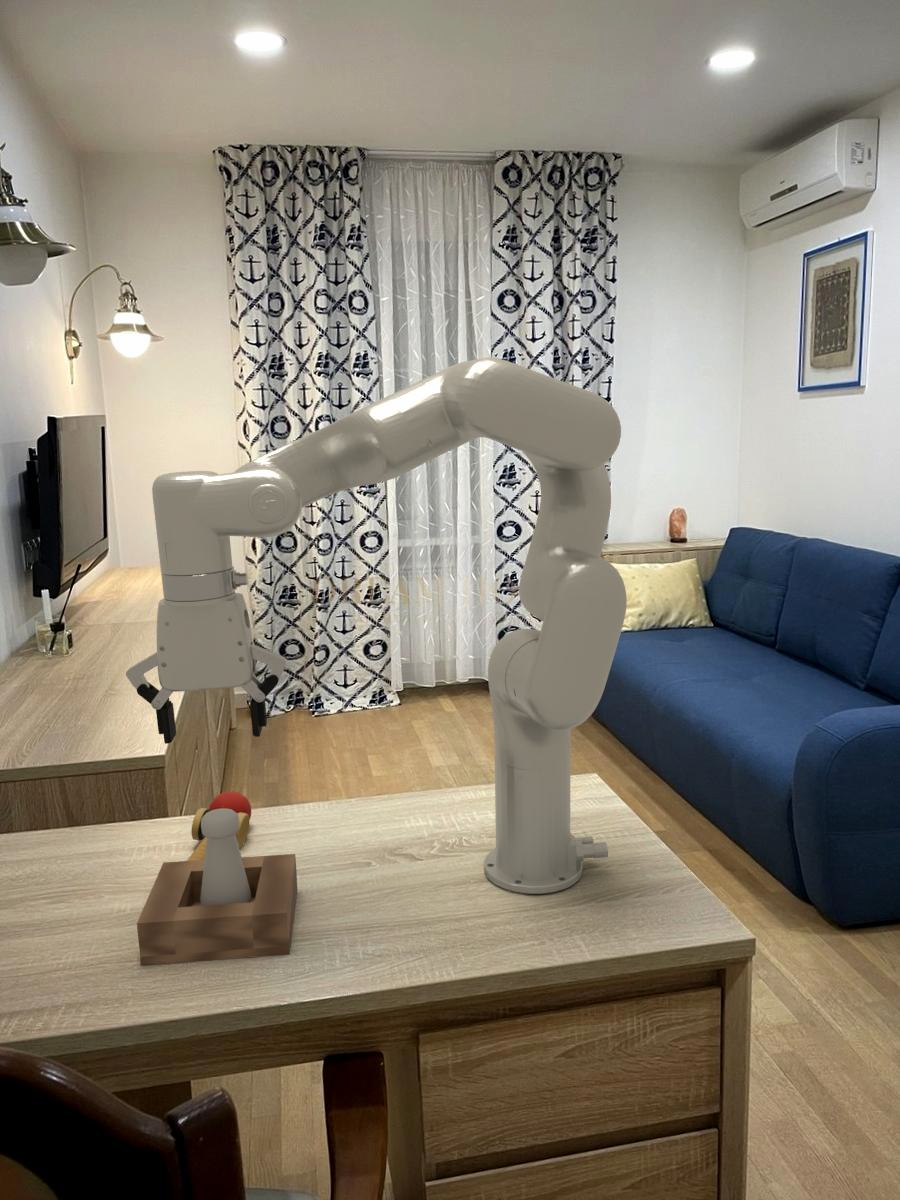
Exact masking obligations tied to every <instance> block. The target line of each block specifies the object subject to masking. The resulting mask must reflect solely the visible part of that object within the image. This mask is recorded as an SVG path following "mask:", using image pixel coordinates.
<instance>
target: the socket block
mask: <svg viewBox="0 0 900 1200" xmlns="http://www.w3.org/2000/svg"><path fill="white" fill-rule="evenodd" d="M241 857H242V856H241ZM204 861H205V860H194V861H187V860H181V861H179V860H178V861H167V862H165V861H164V862H162V864H161V867H160V868H159V871H158V874H157V876H156V879H155V881H154V883H153V885H152V887H151V890H150V891H149V895H148V897H147V899H146V902H145V903H144V905H143V906H144V907H143V908H142V911H141V912H140V915H139V918H138V919H137V922H136V927H137V928H136V929H137V939H138V949H139V950H138V951H139V958H140V966H149V965H150V966H151V965H161V964H176V963H177V964H178V963H189V962H190V963H191V962H202V961H203V962H204V961H216V960H217V961H218V960H228V959H229V960H231V959H241V958H256V957H269V956H272V957H273V956H281V955H282V956H283V955H284V956H285V955H290V954H291V953H290V952H291V946H292V945H291V944H292V936H293V930H294V929H293V928H294V920H295V914H296V908H297V905H296V904H297V898H298V892H297V891H298V877H297V875H298V873H297V859H296V853H289V854H273V855H258V856H255V855H254V856H244V857H242V861H243V865H244V869H245V872H246V876H247V880H248V884H249V887H250V891H251V902H249V903H235V904H221V905H206V906H201V903H200V897H201V888H202V879H203V870H204Z"/></svg>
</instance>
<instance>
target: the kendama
mask: <svg viewBox="0 0 900 1200" xmlns="http://www.w3.org/2000/svg"><path fill="white" fill-rule="evenodd" d="M224 808H226V809H231V810H233V811H235V812H236V813H237V814H238V817H239V830H238V831H237V833H236V838H237V842H238V846H239V849H241V848H242V847H243V846H242V844H243V843H244V844H245V842H246V841H247V837H248V835H249V829H250V821H251V816H252V806H251V803H250V801H249V800H248V798H247V797H246V796H245V795H244V794H242V793H240V792H237V791H232V790H231V791H224V792H221V793H220V794H218V795H216V797H215V798H214V799H212V801H211V803H210V804H209V808H207V807H200V808H199V809H197V811H196V813H195V815H194V817H193V820H192V823H191V824H192V825H191V833H190V834H191V837H192V838H191V839H193V840H195V841H199V842H200V843H199V844H198V846H197V847H195V849H194V851H193V852H192V853H191V855H190V856H189V857H188V859H187V860H186V861H194V860H205V852H206V842H207V837H205V836H204V835H203V834H202V830H201V819H202V817H203V816H204V815H205V814H206V813H207V812H209V811H212V810H215V809H224ZM241 846H242V847H241ZM240 847H241V848H240Z"/></svg>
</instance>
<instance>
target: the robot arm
mask: <svg viewBox="0 0 900 1200" xmlns="http://www.w3.org/2000/svg"><path fill="white" fill-rule="evenodd" d="M478 438H484V439H485V438H486V439H489V440H492V441H495V442H497V443H499V444H502V445H505V446H507V447H511V448H514V449H516V450H518V451H522V453H523V455H525V456H526V458H527V459H528V460H529V461H530V463H531V464H532V466H533V468H534V470H535V471H536V474H537V477H538V481H539V486H540V501H539V502H540V503H539V509H538V513H537V518H536V522H535V526H534V530H533V533H532V535H531V536H532V537H531V539H530V543H529V548H528V551H527V555H526V557H525V558H526V559H525V562H524V564H523V568H522V572H521V574H520V575H521V576H520V580H519V584H518V585H519V586H518V595H519V600H520V602H521V604H522V606H523V607H524V608H525V610H526V611H527V612H528V613H530V615H532V616H533V617H535V618H536V619H538V620H540V621H542V624H541V629H540V630H539V629H534V628H520V629H519V628H518V629H516V630H513V631H511V632H509V633H507V634H505V635H504V636H502V638H500V639H499V641H498V642H497V643H496V644H495V646H494V647H493V649H492V652H491V654H490V657H489V660H488V666H487V680H488V681H487V682H488V689H489V698H490V703H491V709H492V720H493V731H494V733H493V734H494V735H493V737H494V738H493V739H494V794H495V796H494V802H495V807H494V808H495V848H494V849H493V850H491V851H490V852H489V853H488V854H487V855H485V858H484V861H483V863H484V864H483V865H484V867H483V870H484V874H485V876H486V877H487V879H489V881H490V882H491V883H493V884H495V885H496V886H497V887H500V888H502V889H504V890H507V891H511V892H516V893H520V894H530V895H534V894H536V895H541V894H549V893H552V894H553V893H556V892H560V891H562V890H565V889H568V888H569V887H571V886H574V885H575V884H576V883H578V882H579V880H580V879H581V877H582V876H583V862H584V860H585V859H603V858H608V856H609V855H608V854H609V849H608V844H607V842H606V841H600V842H599V841H598V842H594V839H593V836H582V837H575V835H572V832H571V757H572V750H571V749H572V748H571V747H572V744H571V742H572V741H571V740H572V739H571V729H574V728H577V727H578V726H580V725H582V724H583V723H584V722H586V721H587V720H588V719H589V717H591V716H592V714H593V713H594V712H595V710H596V709H597V707H598V705H599V703H600V700H601V698H602V696H603V693H604V692H605V691H604V690H605V687H606V684H607V681H608V678H609V675H610V670H611V667H612V665H613V661H614V657H615V655H616V650H617V647H618V643H619V641H620V637H621V633H622V630H623V627H624V622H625V619H626V613H627V589H626V585H625V583H624V579H623V577H622V576H621V574H620V572H619V571H618V569H616V567H615V566H614V565H613V564H611V563H610V562H608V560H606V559H604V558H603V557H602V552H603V551H602V550H603V546H604V543H605V539H606V534H607V529H608V526H609V520H610V516H611V515H610V514H611V507H612V491H611V490H612V488H611V483H610V478H609V475H608V471H607V468H606V465H605V464H606V463H607V462H608V461H610V459H611V458H612V457H613V456H614V454H615V453H616V451H617V449H618V447H619V445H620V442H621V438H622V425H621V420H620V418H619V415H618V413H617V411H616V410H615V409H614V407H613V406H612V405H611V404H610V402H609V401H608V400H606V399H605V398H604V397H602V396H600V395H599V394H597V393H595V392H593V391H591V390H588V389H584V388H582V387H580V386H576V385H574V384H570V383H568V382H564V381H562V380H559V379H557V378H554V377H552V376H549V375H546V374H544V373H540V372H539V371H536V370H532V369H530V368H527V367H525V366H522V365H519V364H517V363H514V362H511V361H508V360H505V359H503V358H502V359H501V358H497V357H482V358H478V359H472V360H466V361H462V362H458V363H455V364H453V365H451V366H449V367H447V368H444V369H442V370H440V371H438V372H436V373H435V372H434V373H433V374H432V375H429V376H428V377H425V378H423V379H421V380H419V381H417V382H414V383H412V384H410V385H408V386H406V387H405V388H402V389H400V390H398V391H396V392H393V393H392V394H389V395H387V396H385V397H383V398H381V399H379V400H377V401H375V402H371V404H369V405H366V406H363V407H362V408H360V409H357V410H355V411H354V412H351V413H349V414H347V415H345V416H343V417H341V418H339V419H337V420H335V421H334V422H332V423H330V424H328V425H326V426H323V428H320V429H318V430H315V431H313V432H311V433H308V434H307V435H305V436H302V437H300V438H297V439H296V440H293V441H291V442H288V443H287V444H284V445H282V446H280V447H278V448H277V449H274V450H272V451H269V452H268V453H266V454H264V455H262V456H260V457H257V458H255V459H253V460H251V461H248V462H247V463H245V464H243V465H241V466H240V467H238V468H236V469H235V471H233V472H228V473H220V474H218V473H217V472H214V471H211V470H209V471H207V470H193V471H192V470H190V471H189V470H188V471H177V472H176V471H175V472H168V473H164V474H161V475H158V476H157V477H156V478H155V480H154V481H153V482H152V487H151V491H152V504H153V511H154V512H153V513H154V521H155V522H154V523H155V529H156V537H157V539H156V540H157V546H158V547H157V548H158V554H159V555H158V556H159V565H160V575H161V584H162V591H163V592H162V593H163V598H162V599H160V600H159V601H158V604H157V614H156V652H154V653H153V654H151V655H149V656H148V657H145V658H144V659H143V660H141V661H139V662H137V663H136V664H133V665H132V666H131V667H129V668H128V669H127V671H125V676H126V678H127V679H128V681H129V682H130V684H131V685H132V686H133V687H134V688H135V690H136V693H137V695H139V696H140V697H141V698H142V699H143V700H144V701H146V702H147V703H149V704H150V705H151V708H152V709H154V710H155V713H156V723H157V731H158V732H157V733H158V734H159V735H163V741H164V742H163V743H164V744H165V745H167V744H171V743H172V742H173V740H174V739H175V736H177V726H176V719H175V709H174V703H173V702H172V700H170V697H171V695H172V694H173V693H174V692H178V693H179V692H195V691H196V692H197V691H210V690H223V689H224V690H225V689H233V688H234V689H235V688H242V690H244V691H245V692H246V693H247V694H248V695H249V696H250V697H251V700H250V703H249V709H250V719H251V731H252V736H253V737H255V738H259V737H260V736H261V733H262V731H263V730H262V729H263V727H267V723H268V718H267V709H266V705H267V704H266V698H267V696H269V694H270V693H271V692H272V691H273V690H274V689H275V688H276V686H278V684H279V681H280V680H281V679H280V678H281V677H282V674H283V673H284V669H285V668H286V666H287V658H286V657H285V656H283V655H281V654H279V653H278V654H277V653H275V652H273V651H271V650H268V649H266V648H263V647H260V646H258V645H256V644H254V640H253V633H252V628H251V627H252V626H251V622H250V616H249V613H248V612H249V611H248V607H247V603H246V601H245V598H244V595H243V593H240V592H236V590H237V589H238V588H241V587H242V586H247V585H248V580H249V579H248V574H247V572H242V573H240V571H239V572H238V571H237V570H235V566H234V565H233V559H232V558H233V557H232V548H231V539H230V537H243V538H244V537H247V538H273V537H277V536H280V535H282V534H284V533H286V532H287V531H289V530H290V529H291V528H292V527H293V526H294V525H295V524H296V523H297V522H298V520H299V518H300V515H301V513H302V510H303V508H305V507H307V506H309V505H311V504H313V503H315V502H317V501H320V500H321V499H324V498H326V497H329V496H331V495H334V494H336V493H340V492H342V491H346V490H348V489H352V488H357V487H362V486H371V485H376V484H381V483H384V482H388V481H391V480H393V479H397V478H398V477H400V476H402V475H404V474H406V473H408V472H410V471H413V470H414V469H417V468H418V467H420V466H422V465H424V464H425V463H428V462H429V461H431V460H434V459H435V458H438V457H440V456H442V455H444V454H446V453H448V452H450V451H452V450H455V449H457V448H459V447H460V446H462V445H465V444H467V443H468V442H472V441H474V440H475V439H478ZM256 661H257V662H260V663H263V664H265V665H268V667H270V668H271V670H270V672H269V674H268V675H267V677H265V679H264V680H263V681H261V680H260V679H259V678H258V677H257V676H256V675H255V674H254V673H256V669H257V668H256V665H257V664H256V663H257V662H256ZM155 668H157V675H158V681H159V685H160V687H161V688H160V690H159V689H158V688H157V687H155V686H154V685H153V684H152V683H150V682H148V680H147V678H146V676H145V674H146V673H147V672H149V671H151V670H152V669H155Z"/></svg>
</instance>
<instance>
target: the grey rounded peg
mask: <svg viewBox="0 0 900 1200" xmlns="http://www.w3.org/2000/svg"><path fill="white" fill-rule="evenodd" d="M201 830H202V834H203V835H204V836H205V837H207V842H206V852H205V861H204V870H203V879H202V888H201V897H200V903H201V906H206V905H221V904H235V903H249V902H251V891H250V887H249V884H248V880H247V876H246V872H245V869H244V865H243V861H242V854H241V850H240V848H239V846H238V842H237V838H236V833H237V831H238V830H239V817H238V814H237V813H236V812H235V811H233V810H231V809H226V808H224V809H215V810H212V811H209V812H207V813H206V814H205V815H204V816H203V817H202V819H201Z"/></svg>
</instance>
